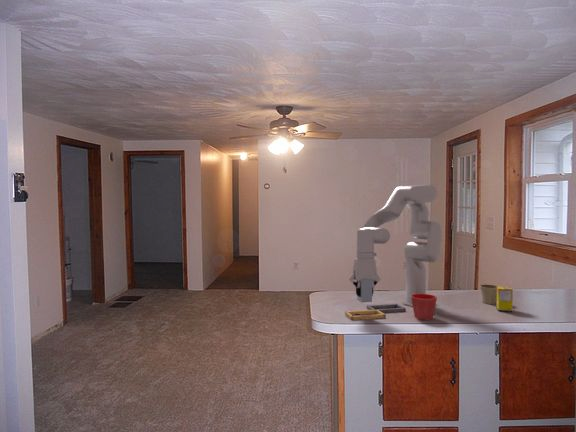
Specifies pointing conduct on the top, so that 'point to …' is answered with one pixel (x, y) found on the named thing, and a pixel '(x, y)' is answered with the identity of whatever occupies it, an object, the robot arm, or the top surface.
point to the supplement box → (504, 299)
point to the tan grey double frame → (375, 311)
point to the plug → (365, 291)
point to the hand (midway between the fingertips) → (364, 295)
